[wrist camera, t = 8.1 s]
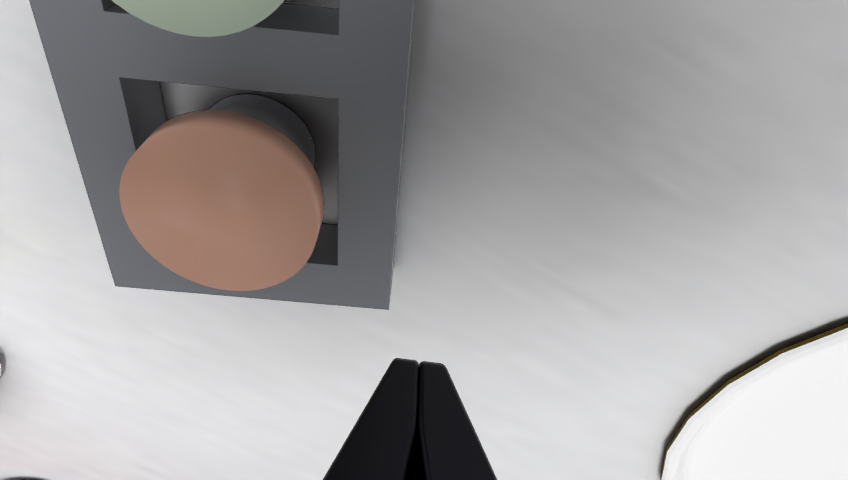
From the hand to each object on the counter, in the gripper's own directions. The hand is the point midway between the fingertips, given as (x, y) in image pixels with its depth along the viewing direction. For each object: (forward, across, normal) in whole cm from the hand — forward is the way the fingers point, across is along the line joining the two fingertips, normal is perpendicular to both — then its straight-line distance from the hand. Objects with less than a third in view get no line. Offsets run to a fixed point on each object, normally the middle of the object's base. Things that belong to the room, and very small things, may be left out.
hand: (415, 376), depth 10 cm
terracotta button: (+11, +6, +3) cm, 13 cm away
